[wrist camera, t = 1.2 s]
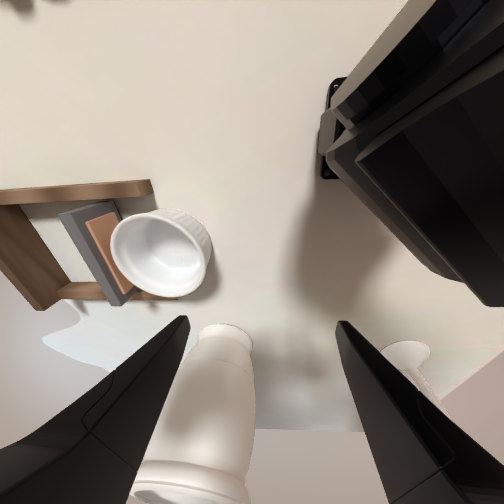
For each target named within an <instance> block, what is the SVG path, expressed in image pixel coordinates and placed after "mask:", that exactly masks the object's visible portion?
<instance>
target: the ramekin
mask: <svg viewBox="0 0 504 504" xmlns="http://www.w3.org/2000/svg"><path fill="white" fill-rule="evenodd" d="M110 247H111V254H112V257H113V260H114V262H115V264H116V266H117V267H118V269H119V270H120V271H121V273H122V274H123V275H124V276H125V277H126V278H127V279H128V280H129V281H130V282H131V283H133V284H134V285H135V286H137V287H139V288H140V289H142V290H144V291H146V292H148V293H151V294H154V295H158V296H162V297H181V296H185V295H187V294H190V293H192V292H193V291H195V290H196V289H197V288H198V287H199V286H200V285H201V283H202V282H203V280H204V277H205V274H206V267H207V265H208V262H209V260H210V256H211V250H212V247H211V239H210V236H209V234H208V232H207V230H206V229H205V227H204V226H203V225H202V224H201V222H199V221H198V220H197V219H196V218H195V217H193V216H192V215H190V214H188V213H186V212H184V211H182V210H178V209H172V208H163V209H157V210H154V211H151V212H148V213H141V214H136V215H132V216H130V217H127V218H126V219H124V220H122V221H121V222H120V223H119V224H118V225H117V226H116V227H115V229H114V231H113V233H112V235H111V241H110Z"/></svg>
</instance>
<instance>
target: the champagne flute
mask: <svg viewBox="0 0 504 504" xmlns="http://www.w3.org/2000/svg"><path fill="white" fill-rule="evenodd" d="M380 353H381V354H382V355H383V356H384V357H385V358H386V359H387V360H388V361H389V362H390V363H392V364H393V365H394V366H395V367H396V368H397V369H399V370H404V371H408V372H409V373H410V375H411V376H412V378H413V380H414V381H415V383H416V384H417V386H418V387H419V389H420V391H421V392H422V393H423V394H424V395H425V396H426V397H427V398H428V399H429V400H430V401H431V402H432V403H433V404H434V405H435V406H436V407H437V408H439V409H440V410H441V411H442V412H443V413H444V414H445V415H446V416H447V417H448V418H449V419H451V420H452V418H451V417H450V415H449V414H448V413H447V411H446V410H445V408H444V407H443V405H442V404H441V402H440V401H439V399H438V398H437V396H436V395H435V393H434V392H433V390H432V389H431V388H430V386H429V385H428V383H427V382H426V380H425V379H424V377H423V376H422V374H421V373H420V371H419V370H418V368H419V367H420V366H421V365H422V363H423V362H424V361H425V360H426V359H427V358H428V357H429V355H430V349H429V347H428V346H427V345H426V344H424V343H422V342H418V341H401V342H396V343H393V344H391V345H389V346H387V347H385V348H384V349H383V350H381V352H380ZM452 421H453V420H452ZM453 422H454V421H453ZM454 423H455V422H454Z"/></svg>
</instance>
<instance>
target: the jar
mask: <svg viewBox="0 0 504 504" xmlns="http://www.w3.org/2000/svg"><path fill="white" fill-rule="evenodd" d="M251 351H252V341H251V339H250V337H249V336H248V335H247V334H246V333H245V332H244V331H242V330H241V329H239V328H237V327H234V326H231V325H227V324H213V325H209V326H206V327H205V328H203V329H202V330H201V331H200V332H199V334H198V337H197V344H196V345H195V346H194V347H193V348H192V349H191V351H190V352H189V353H188V355H187V356H186V358H185V359H184V361H183V363H182V364H181V366H180V369H179V370H178V372H177V373H176V375H175V378H174V380H173V383H172V386H171V388H170V391H169V393H168V396H167V398H166V401H165V403H164V406H163V409H162V411H161V414H160V416H159V419H158V421H157V424H156V426H155V429H154V432H153V434H152V437H151V439H150V442H149V444H148V447H147V450H146V452H145V456H144V459H143V461H142V464H141V465H140V467H139V470H138V471H137V475H136V478H135V481H134V483H133V486H132V488H131V491H130V493H129V494H130V495H132V496H134V497H135V498H137V499H139V500H141V501H144V502H146V503H149V504H250V501H251V499H250V493H249V491H248V489H247V487H246V486H245V480H246V475H247V472H248V468H249V464H250V459H251V454H252V448H253V441H254V431H255V418H256V403H255V391H254V374H253V366H252V362H251V358H250V356H249V354H250V353H251Z"/></svg>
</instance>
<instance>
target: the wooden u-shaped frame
mask: <svg viewBox="0 0 504 504" xmlns="http://www.w3.org/2000/svg"><path fill="white" fill-rule="evenodd" d="M150 193H153V189H152V186H151V183H150V179H146V180H132V181H118V182H104V183H90V184H76V185H62V186H48V187H34V188H20V189H6V190H0V270H1V271H2V272H3V274H4V275H5V276H6V277H7V278H8V279H9V280H10V282H11V283H12V284H13V285H14V286H15V287H16V288H17V290H18V291H19V292H20V293H21V294H22V295H23V296H24V298H25V299H26V300H27V301H28V302H29V303H30V304H31V306H32V307H33V308H34V309H35V310H36V311H45V310H46V309H48V308H49V307H50V306H51V305H53V304H55V303H56V302H58V301H59V300H60V299H107V298H106V296H105V294H104V293H103V291H102V289H101V288H100V286H99V284H98V283H97V282H70V280H69V279H68V277H67V276H66V274H65V273H64V271H63V270H62V268H61V267H60V265H59V264H58V263H57V261H56V260H55V258H54V257H53V255H52V254H51V252H50V251H49V249H48V248H47V246H46V245H45V243H44V242H43V240H42V239H41V237H40V236H39V235H38V233H37V232H36V230H35V229H34V227H33V226H32V224H31V223H30V221H29V220H28V218H27V217H26V215H25V214H24V212H23V211H22V210H21V208H20V207H19V205H18V204H25V203H41V202H58V201H75V200H91V199H108V198H124V197H141V196H144V195H147V194H150ZM178 298H179V297H162V296H158V295H154V294H151V293H148V292H146V291H144V290H142V289H140V288H139V289H138V290H137V291H136V292H135V293H134V294H133V295H132V296H131V297H130V298H129V299H130V300H178Z"/></svg>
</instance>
